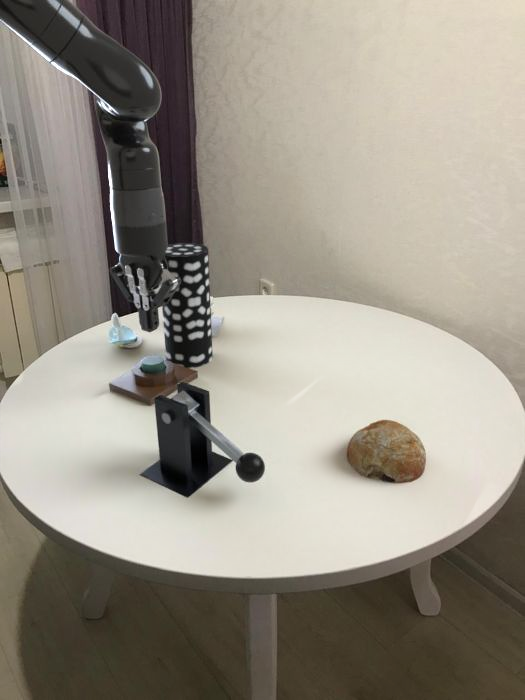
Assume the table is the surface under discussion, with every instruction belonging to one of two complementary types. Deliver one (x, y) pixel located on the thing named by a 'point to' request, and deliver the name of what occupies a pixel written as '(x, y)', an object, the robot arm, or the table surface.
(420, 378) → the table surface
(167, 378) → the button block
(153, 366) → the button
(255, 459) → the lever
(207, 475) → the bracket
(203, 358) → the white-spotted black cylinder
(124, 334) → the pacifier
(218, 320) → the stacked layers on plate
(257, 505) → the table surface
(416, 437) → the bread roll
